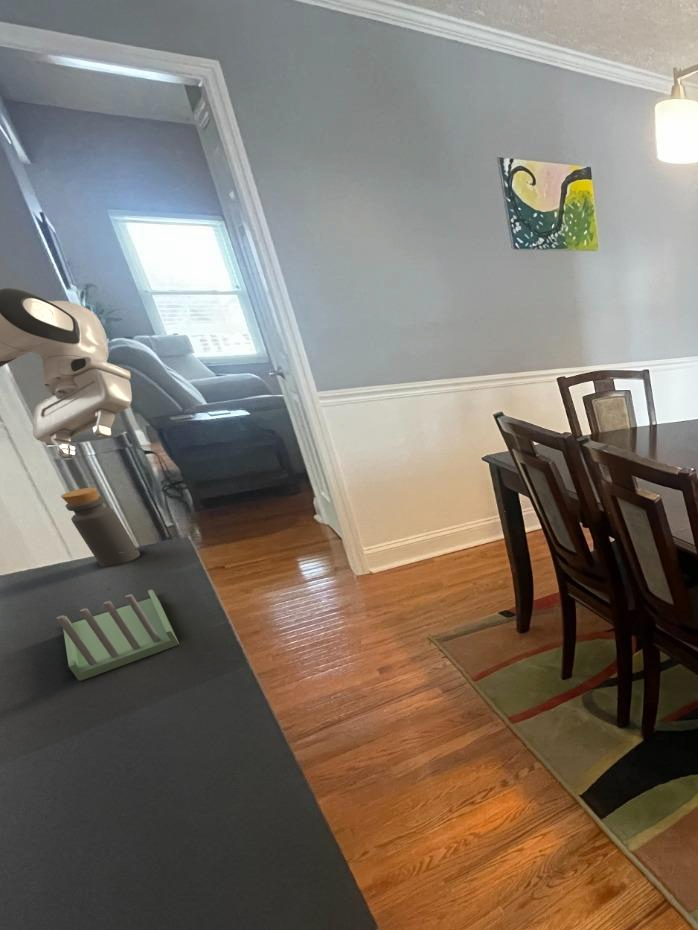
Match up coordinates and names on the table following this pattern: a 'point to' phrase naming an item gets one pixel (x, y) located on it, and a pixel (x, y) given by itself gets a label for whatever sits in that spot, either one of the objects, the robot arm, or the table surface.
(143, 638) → the drying rack
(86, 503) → the bottle
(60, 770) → the table surface
